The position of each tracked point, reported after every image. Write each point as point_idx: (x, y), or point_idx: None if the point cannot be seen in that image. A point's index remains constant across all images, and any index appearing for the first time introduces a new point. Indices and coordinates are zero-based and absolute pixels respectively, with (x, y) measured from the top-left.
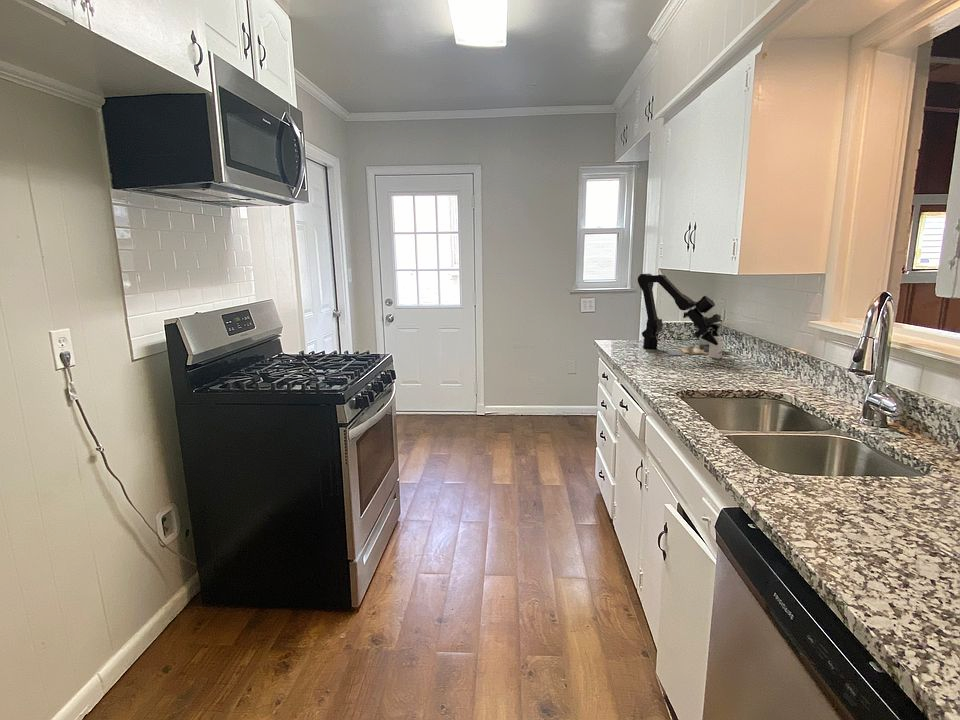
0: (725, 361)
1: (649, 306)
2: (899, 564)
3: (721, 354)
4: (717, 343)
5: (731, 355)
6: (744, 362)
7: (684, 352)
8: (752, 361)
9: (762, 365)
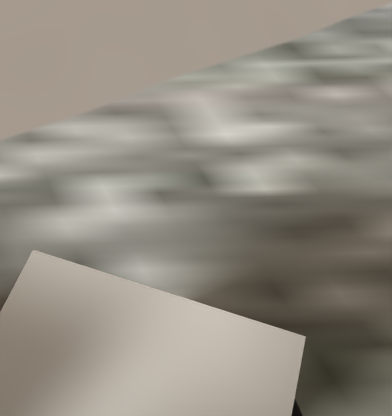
0: (383, 268)
1: None
2: None
3: None
4: None
5: (9, 227)
6: (316, 123)
7: None
8: (232, 79)
9: (355, 27)
